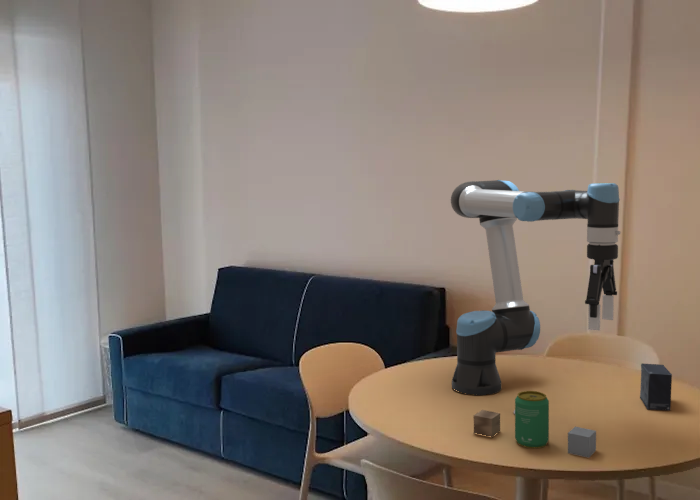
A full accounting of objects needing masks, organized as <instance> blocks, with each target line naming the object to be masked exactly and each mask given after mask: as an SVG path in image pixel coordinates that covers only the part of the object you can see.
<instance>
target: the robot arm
mask: <svg viewBox="0 0 700 500" xmlns="http://www.w3.org/2000/svg"><path fill="white" fill-rule="evenodd" d="M619 190H620V189H619V186H618V184H617V183H613V182H611V183H610V182H608V183H605V182H604V183H603V182H602V183H601V182H599V183H598V182H597V183H589V184H588V186H587V190H577V189H567V190H556V191H555V190H554V191H553V190H552V191H522V190H521V191H520V189H519V187H518V186H517V185H516V184H515V183H513V182H512V181H509V180H501V179H497V180H494V179H493V180H480V181H479V180H478V181H475V180H474V181H473V180H472V181H465V182H463V183H461V184H459V185H458V186H456V187H455V188H454V190H453V191H452V193H451V196H450V204H451V208H452V210H453V211H454V212H455V214H456V215H458V216H460V217H463V218H467V219H469V218H470V219H478V220H479V225H480V226H481V227H483V229H485V235H486V242H487V250H488V256H489V258H488V259H489V263H490V264H489V265H490V271H491V279H492V286H493V292H494V299H495V304H494V305H493V307H492V308H491V310H473V311H469V312H465V313H463V314H461V315H459V317H458V318H457V321H456V331H455V332H456V355H457V356H456V360H457V361H456V363H457V364H456V366H455V369H454V372H453V376H452V379H451V388H453V389H455V390H457V391H459V392H462V393H461V394H463V393H466V394H465V395H468V394H474V395H473V396H487V395H486V394H489V395H493V393H494V394H497V393H499V392H501V390H502V379H501V376H500V374H499V371H498V367H497V365H496V362H497V361H496V356H497V355H496V353H503V352H510V351H517V350H518V351H519V350H520V351H522V350H524V349H529V348H532V347H533V346H534V345H536V343H537V341H538V340H539V338H540V335H541V322H540V319H539V317H538V316H537V313H536V312H534V311H532V310H530V309H531V308H530V304H529V303H528V302H526V301H525V300H524V296H523V295H524V294H523V289H522V281H521V280H522V279H521V275H520V266H519V261H518V252H517V246H516V240H515V239H516V238H515V233H514V231H515V230H514V227H513V226H514V224H515V223H516V221H517V220H519V222H520V221H521V222H528V223H529V222H531V223H532V222H536V221H537V222H538V221H539V222H540V221H551V220H552V221H555V220H570V219H571V220H573V219H577V220H578V219H580V220H587V223H586V225H587V227H586V228H587V229H586V242H587V243H588V244H587V245H586V257H587V259H589V260H593V261H594V262H593V263H594V264H590V266H589V269H590V270H589V277H588V278H589V280H588V285H587V293H586V298H585V299H586V300H585V301H584V304H585V305H588V318H587V319H588V320H587V321H588V323H587V328H588V329H587V330H591V331H592V330H593V331H601V319H602V320H609V321H614V311H615V310H614V309H615V308H614V307H615V306H614V305H615V304H614V299H615V296H617V295H618V290H617V286H616V278H615V277H616V276H615V270H614V269H615V268H614V263H615V261H614V260H617V259H618V258H619V245H618V244H617V243H618V242H619V236H620V235H621V233H622V232H621V231H620V230H619V212H620V211H619V210H620V209H619V208H620V200H621V199H620V193H619V192H620V191H619ZM602 292H603V294H602ZM601 296H602V300H601ZM600 301H602V306H601V304H600ZM601 307H602V308H601ZM601 314H602V315H601ZM453 389H452V390H453ZM455 390H454V391H455ZM459 392H458V393H459Z"/></svg>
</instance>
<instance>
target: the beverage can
mask: <svg viewBox="0 0 700 500" xmlns="http://www.w3.org/2000/svg"><path fill="white" fill-rule="evenodd" d="M549 407H550V401H549V399H548V397H547V395H546V394H545V393H544V392H542V391H541V392H540V391H535V390H523V391H520V392H518V393H517V396H515V399H514V410H515V414H514V438H515V440H516V442H517V444H518V445H519V444H520V445H519V446H521V447H523V446H524V448H528V449H540V448H544V447H547V443H548V442H549V438H550V436H549V435H550V433H549V430H550V423H549V422H550V421H549V420H550V416H549V415H550V414H549V413H550V409H549Z"/></svg>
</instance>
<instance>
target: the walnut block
mask: <svg viewBox="0 0 700 500" xmlns="http://www.w3.org/2000/svg"><path fill="white" fill-rule="evenodd" d="M499 431H500V432H501V413H500V412H495V411H491V410H486V409H481V410H480V411H478V412H476V413H475V414H473V434H474V433H477V434H482V435H486V436H491V437H492V436H494V435H495V434H496V433H498V432H499ZM500 432H499V433H500ZM499 433H498V434H499ZM496 435H497V434H496ZM496 435H495V436H496ZM495 436H494V437H495ZM492 438H493V437H492Z"/></svg>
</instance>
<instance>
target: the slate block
mask: <svg viewBox="0 0 700 500" xmlns="http://www.w3.org/2000/svg"><path fill="white" fill-rule="evenodd" d="M596 451H597V430H595V429H589V428H585V427H579V426H574V427H573V428H571V429H570V430H569V431H568V432H567V454H570V455H575V456H580V457H583V458H590V457H591V456H592V455H593V454H594V453H595V452H596Z"/></svg>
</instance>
